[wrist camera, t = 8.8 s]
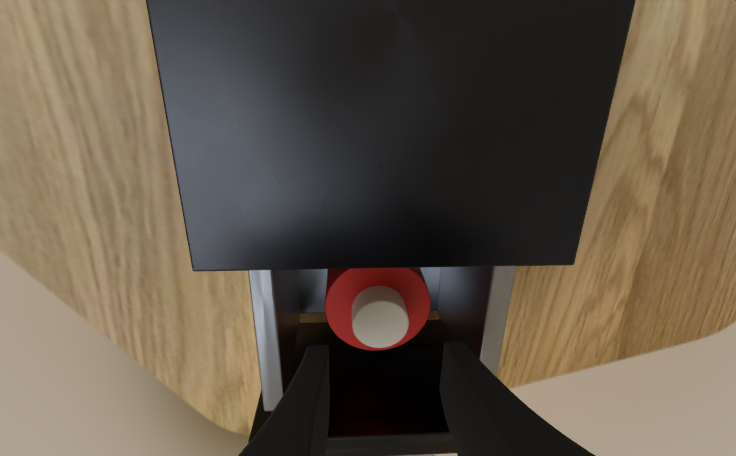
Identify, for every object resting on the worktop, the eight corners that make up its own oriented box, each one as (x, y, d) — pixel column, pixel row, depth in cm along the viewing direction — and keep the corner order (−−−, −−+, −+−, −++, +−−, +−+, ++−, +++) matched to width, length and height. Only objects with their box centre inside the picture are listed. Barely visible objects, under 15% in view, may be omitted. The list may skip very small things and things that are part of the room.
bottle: (411, 296, 21) (432, 368, 16) (329, 298, 21) (325, 372, 16) (416, 220, 20) (441, 274, 15) (327, 221, 19) (321, 276, 14)
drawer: (448, 389, 25) (490, 517, 18) (284, 394, 25) (260, 530, 17) (479, 121, 19) (561, 154, 12) (260, 120, 18) (207, 154, 11)
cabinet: (477, 182, 21) (574, 265, 12) (257, 183, 20) (192, 272, 12) (516, -142, 16) (731, -402, 7) (225, -156, 15) (64, -461, 6)
